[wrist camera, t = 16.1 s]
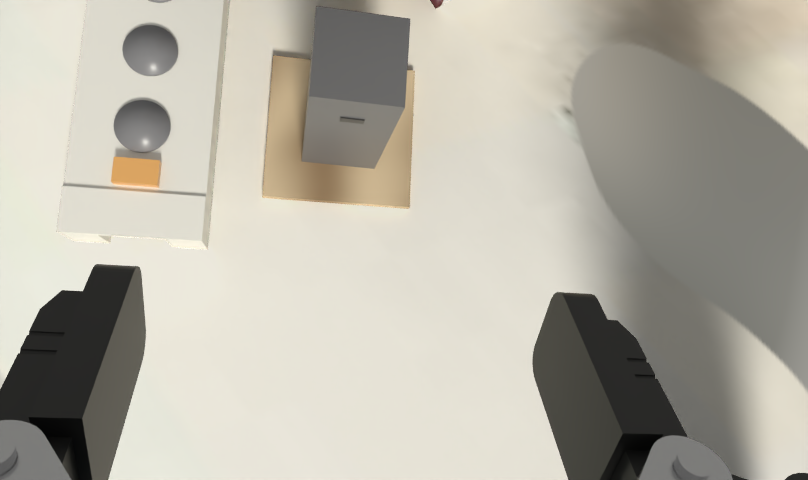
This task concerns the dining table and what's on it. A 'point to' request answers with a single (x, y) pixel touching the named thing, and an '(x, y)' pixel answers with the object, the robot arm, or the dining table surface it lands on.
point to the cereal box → (439, 2)
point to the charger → (354, 86)
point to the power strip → (145, 122)
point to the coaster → (326, 180)
